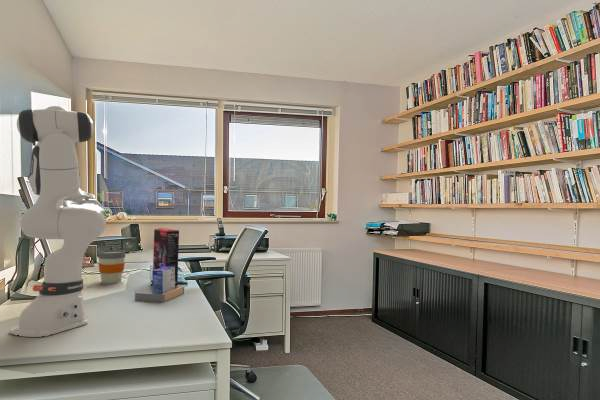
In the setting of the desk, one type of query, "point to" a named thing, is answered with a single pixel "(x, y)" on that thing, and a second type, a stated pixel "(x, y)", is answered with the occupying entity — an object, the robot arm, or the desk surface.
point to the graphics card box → (166, 249)
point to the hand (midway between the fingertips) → (94, 223)
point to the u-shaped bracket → (160, 295)
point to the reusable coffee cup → (111, 265)
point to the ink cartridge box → (163, 279)
